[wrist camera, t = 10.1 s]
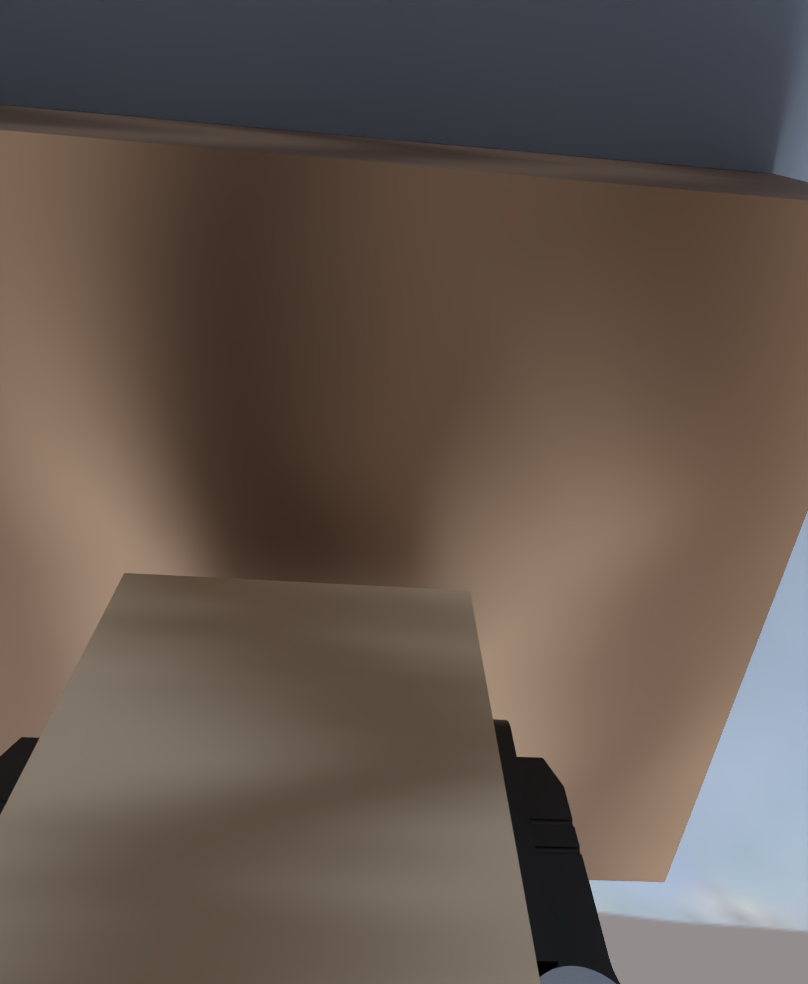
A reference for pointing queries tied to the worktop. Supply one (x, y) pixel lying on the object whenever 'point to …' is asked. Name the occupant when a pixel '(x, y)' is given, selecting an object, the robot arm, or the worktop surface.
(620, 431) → the walnut base
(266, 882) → the beech block
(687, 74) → the worktop surface
